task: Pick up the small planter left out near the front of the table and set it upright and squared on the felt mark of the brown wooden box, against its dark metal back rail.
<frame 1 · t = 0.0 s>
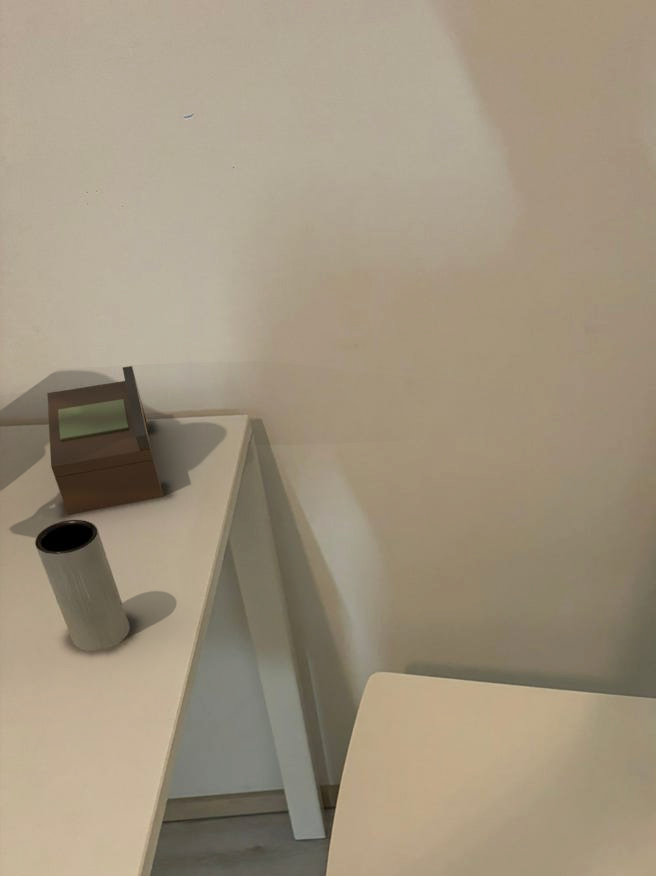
brown wooden box: (112, 471, 98), on the table
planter: (103, 640, 78), on the table
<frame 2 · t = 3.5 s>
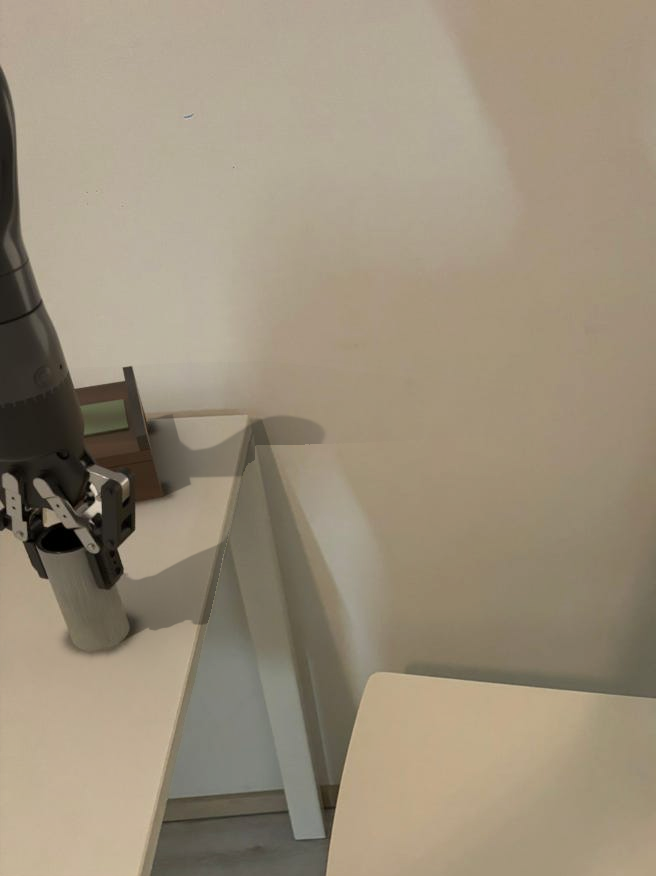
hand: (81, 577, 73), 6 cm above the table, tool pointing down, fingers closed on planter, 4 cm apart
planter: (103, 640, 78), on the table, touching gripper
when the fingers open (13 cm above the table, at t = 10.8 s): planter stays where it is, resting on brown wooden box.
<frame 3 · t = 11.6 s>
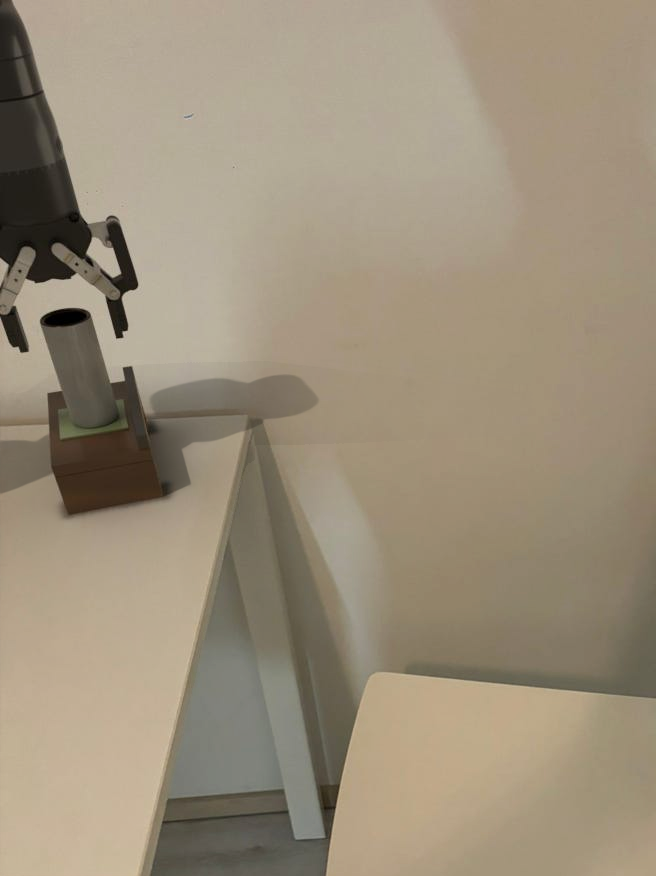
hand: (72, 342, 88), 14 cm above the table, tool pointing down, fingers open, 8 cm apart
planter: (96, 419, 94), point 6 cm above the table, touching brown wooden box
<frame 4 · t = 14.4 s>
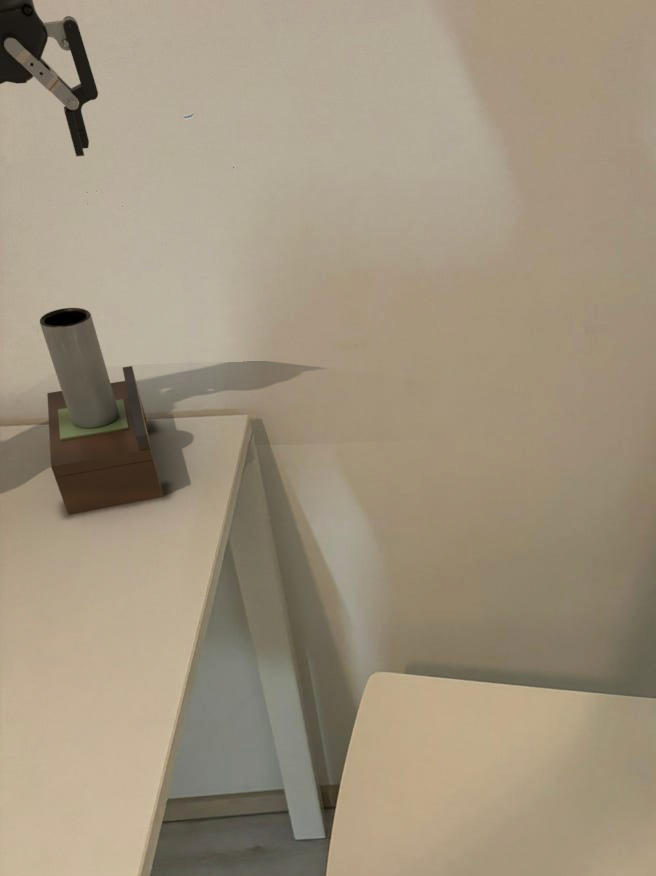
hand: (30, 159, 85), 28 cm above the table, tool pointing down, fingers open, 8 cm apart
nothing on the table moved.
at the end: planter 0.0 cm off-centre on the brown wooden box, point 6.0 cm above the brown wooden box's base; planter tilted 0°; the gripper is holding nothing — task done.
